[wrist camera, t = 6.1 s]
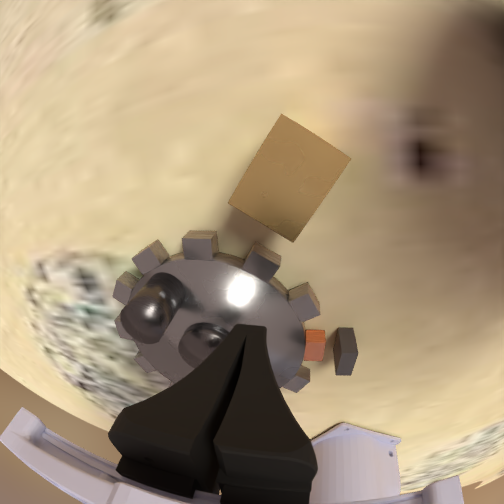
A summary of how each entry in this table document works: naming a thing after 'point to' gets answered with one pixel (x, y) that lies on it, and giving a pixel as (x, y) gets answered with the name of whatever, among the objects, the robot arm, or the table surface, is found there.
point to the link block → (288, 178)
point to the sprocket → (214, 308)
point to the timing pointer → (345, 351)
